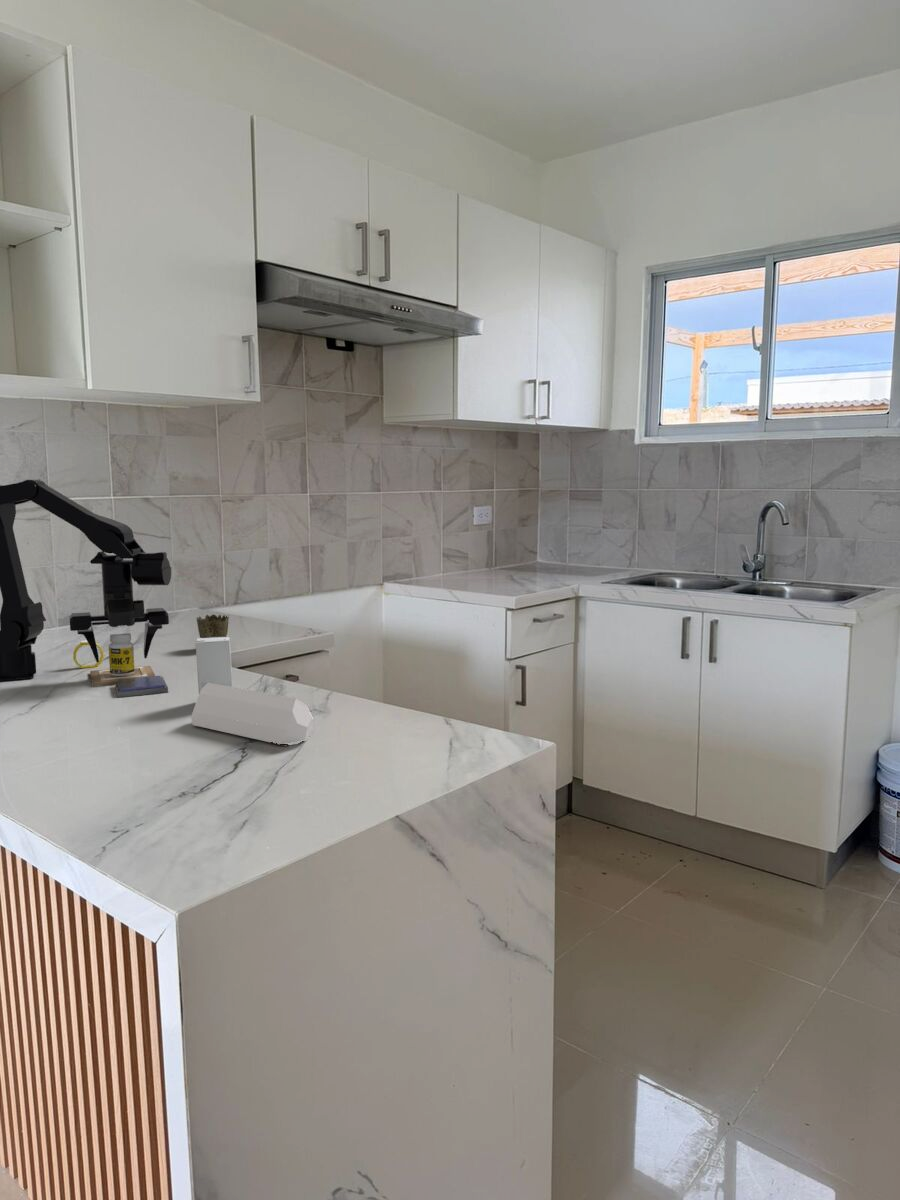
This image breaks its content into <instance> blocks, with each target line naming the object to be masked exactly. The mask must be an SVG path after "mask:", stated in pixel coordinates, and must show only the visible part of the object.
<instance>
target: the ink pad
mask: <svg viewBox="0 0 900 1200" xmlns="http://www.w3.org/2000/svg"><path fill="white" fill-rule="evenodd" d="M114 688H115V692H116V694H117V697H118V698H124V697H125V698H127V697H133V696H134V697H135V696H144V695H146V696H147V695H153V694H154V695H155V694H162V693H169V686H168V685H167V682H166V681H165V680H164V677H163V676H162V677H161V675H155V676H150V677H139V678H129V679H118V681H117V682H115V684H114Z"/></svg>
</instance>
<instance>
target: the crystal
mask: <svg viewBox="0 0 900 1200" xmlns="http://www.w3.org/2000/svg"><path fill="white" fill-rule="evenodd" d="M190 717H191V724H192V726H195V727H199V728H205V729H207V730H208V729H210V730H213V731H218V732H223V733H227V734H231V735H235V736H240V737H245V738H249V739H254V740H258V741H262V742H267V743H271V742H273V744H276V743H277V744H276V745H280V744H285V743H291V742H295V741H301V740H305V739H306V738H307V737H308V736H309V735H310V734H311V733H312V734H313V732H314V730H313V729H314V724H315V723H314V722H315V719H314V717H313V715H312V713H311V712H310V709H309V706H308V705H306V704H305V703H303V702H302V701H300V700H299V699H297V698H294V697H290V696H283V695H279V694H273V693H268V692H262V691H257V690H251V689H246V688H241V687H240V688H239V687H235V686H233V687H230V686H224V685H219V684H213V683H207V684H206V685H205V686H204V687H203V688H202V689H201V691H200V694H199V693H198V696H197V700H196V701H195V705H194V707H193V709H192V713H191V716H190ZM237 720H238V721H237ZM251 723H252V724H251ZM256 724H257V725H256ZM270 727H271V728H270ZM275 728H276V729H275ZM284 730H285V731H284ZM312 734H311V735H312Z"/></svg>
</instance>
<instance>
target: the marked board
mask: <svg viewBox="0 0 900 1200" xmlns="http://www.w3.org/2000/svg"><path fill="white" fill-rule="evenodd" d="M89 672H90V673H89V674H90V678H91V684H92V687H101V686H111V685H112V686H113V685H115V682H117V681H118V679H129V678H139V677H150V676H156V674H155V672H154V670H153V668H152V666H151V665H143V666H134V673H133V674H132V675H128V676H112V675H111V674H110V668H108V669H96V670H89Z"/></svg>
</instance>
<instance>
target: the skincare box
mask: <svg viewBox="0 0 900 1200" xmlns="http://www.w3.org/2000/svg"><path fill="white" fill-rule="evenodd" d="M230 640H231V638H230V636H227V637H215V638H200V637H198V638H196V640H195V643H194V644H195V655H196V657H195V659H196V671H197V672H196V673H197V685H198V695H199V694H200V691H201V689H202V688H203V687H204V686H205V685H206V684H207V683H213V684H219V685H224V686H230V687H234V686H233V671H232V670H233V669H232V655H231V641H230Z"/></svg>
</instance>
